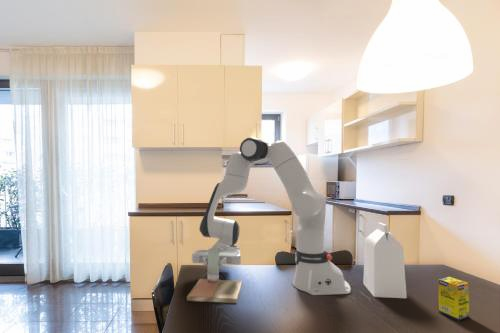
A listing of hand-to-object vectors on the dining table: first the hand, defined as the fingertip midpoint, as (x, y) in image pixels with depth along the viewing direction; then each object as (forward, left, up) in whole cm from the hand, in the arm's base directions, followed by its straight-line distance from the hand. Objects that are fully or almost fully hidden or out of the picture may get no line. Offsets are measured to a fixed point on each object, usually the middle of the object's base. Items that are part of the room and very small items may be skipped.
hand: (212, 263), depth 100 cm
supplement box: (-81, +8, -11) cm, 83 cm away
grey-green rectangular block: (0, -1, -7) cm, 7 cm away
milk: (-66, -9, -11) cm, 68 cm away
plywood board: (-1, -1, -11) cm, 11 cm away
